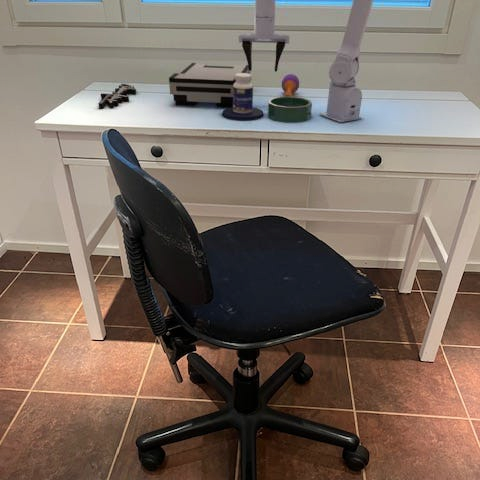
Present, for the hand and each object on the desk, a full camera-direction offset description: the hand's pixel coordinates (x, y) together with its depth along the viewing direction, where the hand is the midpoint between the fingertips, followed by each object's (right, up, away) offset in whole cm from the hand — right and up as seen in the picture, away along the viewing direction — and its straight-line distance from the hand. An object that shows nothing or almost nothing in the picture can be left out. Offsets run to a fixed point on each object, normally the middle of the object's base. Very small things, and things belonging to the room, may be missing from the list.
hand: (263, 70), depth 144 cm
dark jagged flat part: (-47, -2, +14) cm, 49 cm away
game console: (-16, 0, +17) cm, 23 cm away
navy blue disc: (-6, -14, -1) cm, 15 cm away
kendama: (+9, -2, +15) cm, 18 cm away
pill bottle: (-6, -13, -1) cm, 14 cm away
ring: (+8, -14, -2) cm, 16 cm away
